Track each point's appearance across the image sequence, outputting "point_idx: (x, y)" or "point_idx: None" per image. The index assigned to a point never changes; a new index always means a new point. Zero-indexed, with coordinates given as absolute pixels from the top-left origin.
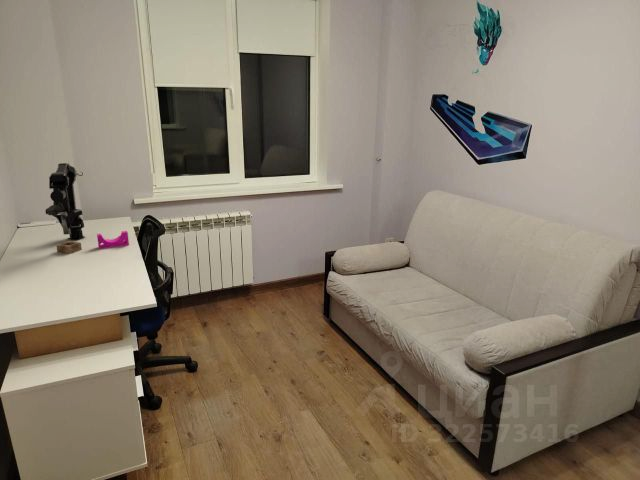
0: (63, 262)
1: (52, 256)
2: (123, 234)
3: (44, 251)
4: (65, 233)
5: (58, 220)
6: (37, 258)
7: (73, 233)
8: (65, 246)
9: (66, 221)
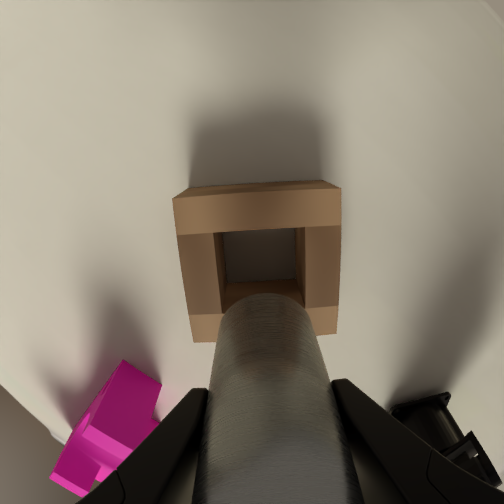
0: (67, 48)
1: (263, 86)
2: (56, 466)
3: (432, 167)
4: (246, 305)
5: (458, 470)
6: (326, 16)
7: (423, 432)
8: (211, 195)
9: (139, 502)
